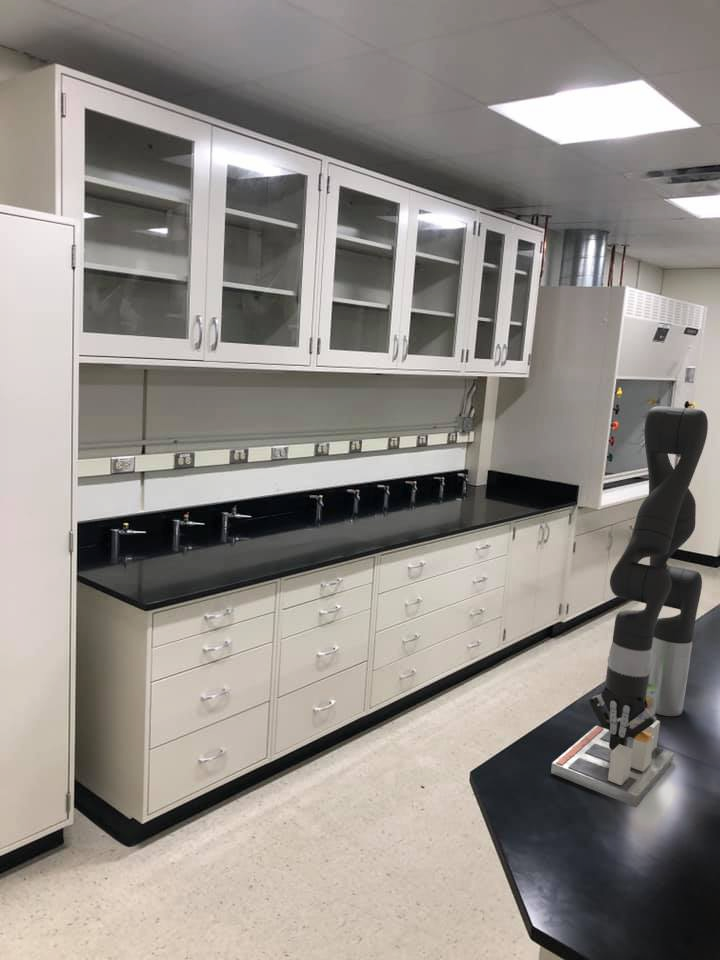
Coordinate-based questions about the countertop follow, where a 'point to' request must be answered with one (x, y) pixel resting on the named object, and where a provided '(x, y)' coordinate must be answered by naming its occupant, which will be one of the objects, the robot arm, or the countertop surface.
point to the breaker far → (654, 732)
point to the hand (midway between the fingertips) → (616, 752)
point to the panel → (592, 767)
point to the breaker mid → (642, 751)
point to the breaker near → (620, 764)
